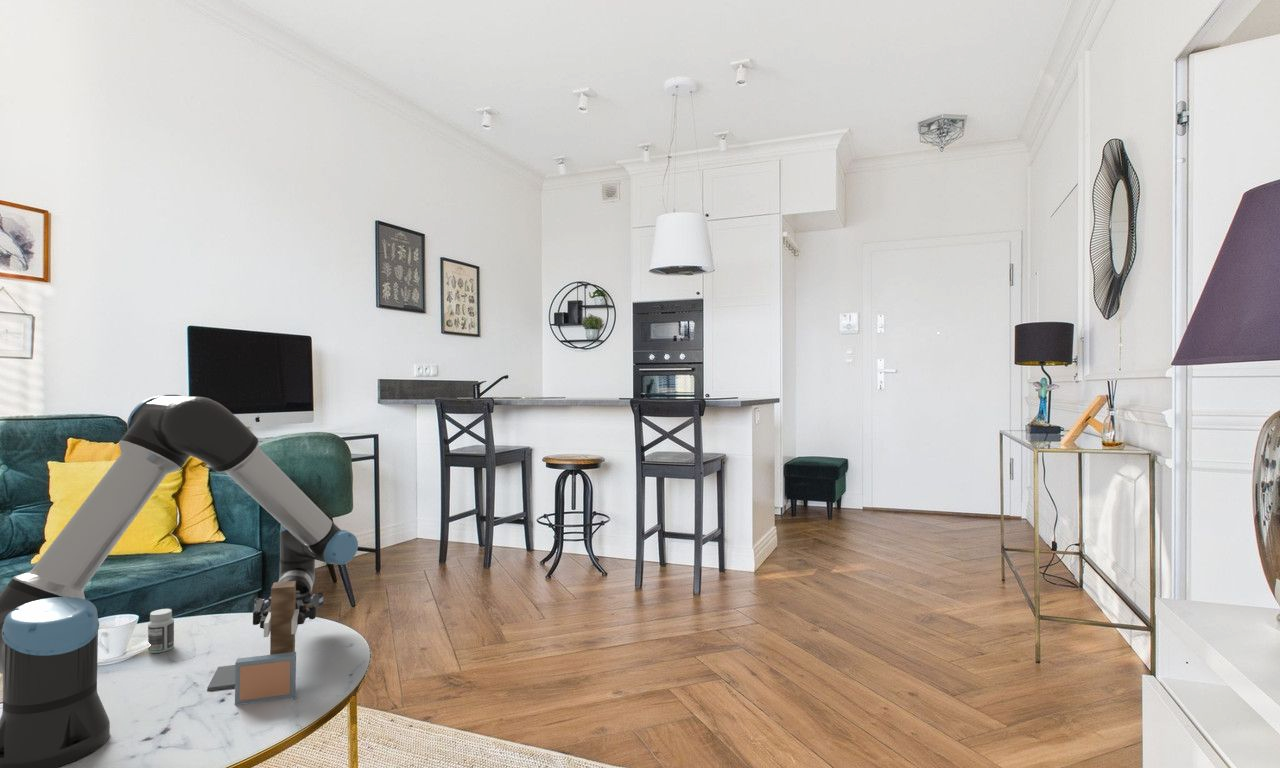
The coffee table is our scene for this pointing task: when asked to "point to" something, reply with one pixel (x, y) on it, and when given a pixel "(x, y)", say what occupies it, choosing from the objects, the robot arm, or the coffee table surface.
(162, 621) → the pill bottle
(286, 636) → the tall wooden pillar
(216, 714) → the coffee table surface
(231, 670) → the plate
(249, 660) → the tile
